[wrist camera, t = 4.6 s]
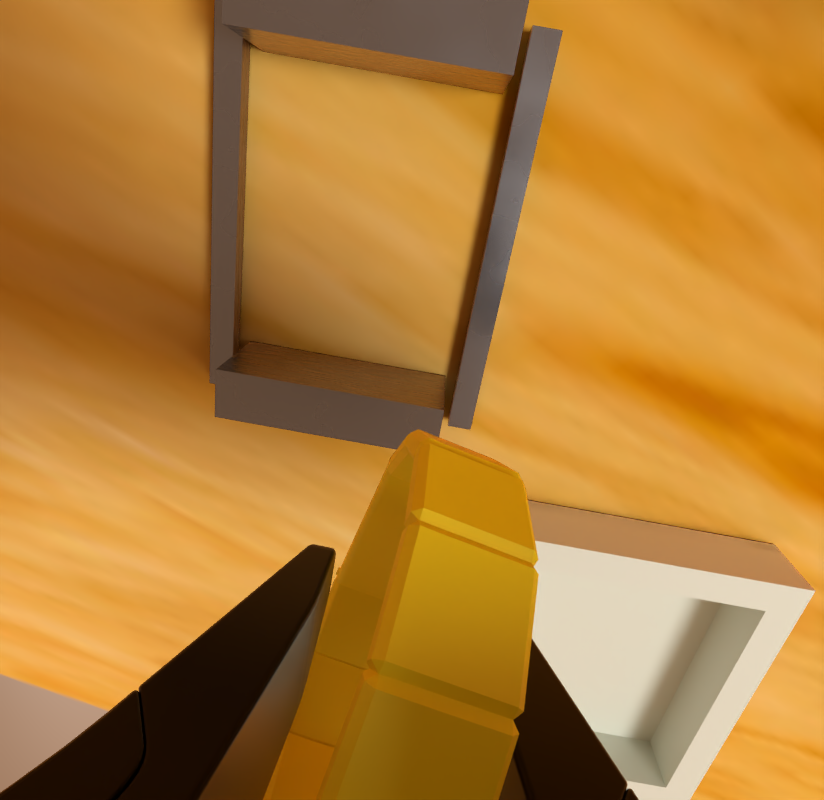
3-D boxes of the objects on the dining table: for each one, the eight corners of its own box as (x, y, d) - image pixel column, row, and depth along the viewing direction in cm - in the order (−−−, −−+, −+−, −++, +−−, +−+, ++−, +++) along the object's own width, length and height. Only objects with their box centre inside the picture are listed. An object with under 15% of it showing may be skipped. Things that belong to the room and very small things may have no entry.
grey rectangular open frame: (558, 36, 15) (583, 2, 12) (469, 422, 19) (472, 462, 17) (224, -24, 15) (170, -71, 12) (216, 376, 19) (177, 410, 17)
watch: (410, 647, 11) (362, 1123, 6) (284, 603, 11) (110, 1061, 5) (553, 418, 8) (710, 911, 3) (390, 350, 8) (254, 765, 3)
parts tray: (774, 544, 20) (815, 591, 18) (662, 752, 25) (683, 809, 23) (457, 487, 20) (458, 526, 18) (406, 706, 25) (402, 758, 23)
